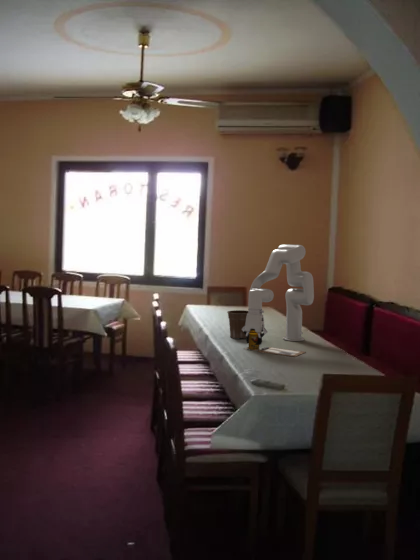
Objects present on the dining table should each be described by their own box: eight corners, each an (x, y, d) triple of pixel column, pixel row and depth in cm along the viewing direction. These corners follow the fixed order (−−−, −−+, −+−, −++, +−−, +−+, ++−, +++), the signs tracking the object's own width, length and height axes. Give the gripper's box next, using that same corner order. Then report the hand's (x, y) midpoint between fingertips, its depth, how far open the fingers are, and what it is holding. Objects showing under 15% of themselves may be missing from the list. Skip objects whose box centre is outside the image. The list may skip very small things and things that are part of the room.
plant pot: (222, 338, 351) (222, 312, 350) (233, 334, 365) (234, 309, 364) (246, 340, 343) (247, 314, 342) (256, 336, 358) (257, 311, 356)
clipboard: (269, 347, 324) (269, 345, 323) (305, 352, 312) (305, 350, 312) (257, 351, 311) (257, 349, 311) (295, 357, 299) (295, 354, 299)
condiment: (256, 351, 313) (257, 329, 312) (242, 349, 317) (243, 327, 316) (262, 348, 319) (262, 327, 319) (248, 347, 324) (249, 326, 323)
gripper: (272, 312, 315) (270, 344, 316) (244, 309, 324) (243, 341, 325) (266, 313, 309) (265, 346, 310) (238, 311, 318) (237, 343, 319)
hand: (253, 343), depth 318 cm, fingers closed on condiment, 6 cm apart
